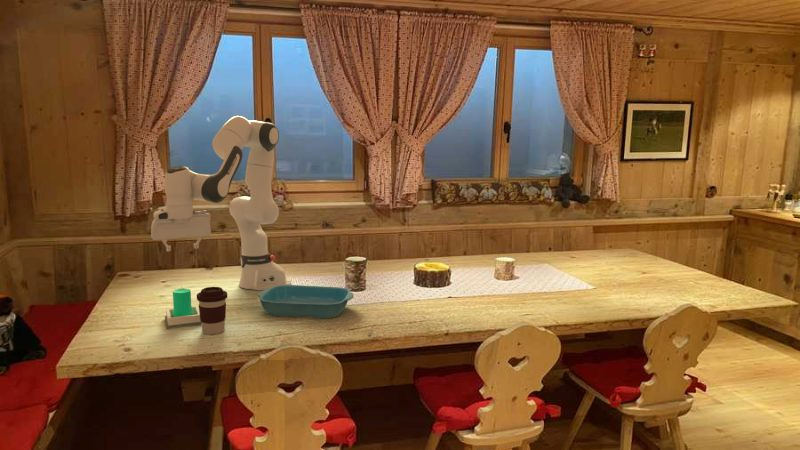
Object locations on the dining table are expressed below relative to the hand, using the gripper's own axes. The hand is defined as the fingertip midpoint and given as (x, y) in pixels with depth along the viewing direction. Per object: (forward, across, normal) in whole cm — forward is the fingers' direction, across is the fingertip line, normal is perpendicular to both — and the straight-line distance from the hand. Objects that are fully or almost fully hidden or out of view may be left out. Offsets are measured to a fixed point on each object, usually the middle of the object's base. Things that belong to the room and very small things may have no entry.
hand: (182, 249), depth 205 cm
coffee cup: (+25, -6, +21) cm, 33 cm away
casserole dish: (+26, -42, +12) cm, 51 cm away
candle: (+24, +2, +7) cm, 25 cm away
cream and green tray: (+25, 0, +7) cm, 26 cm away
